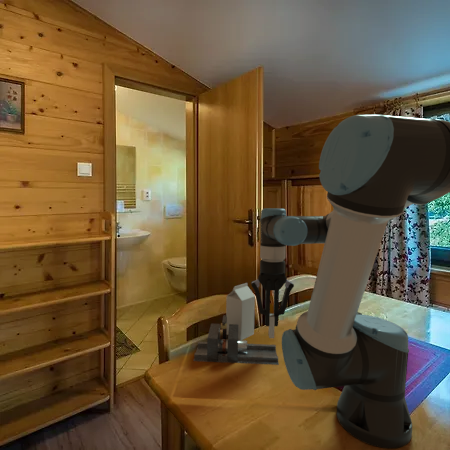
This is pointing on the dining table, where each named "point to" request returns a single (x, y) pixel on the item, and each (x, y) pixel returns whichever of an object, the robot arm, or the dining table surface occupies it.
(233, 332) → the collar rail
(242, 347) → the tube
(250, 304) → the milk carton
